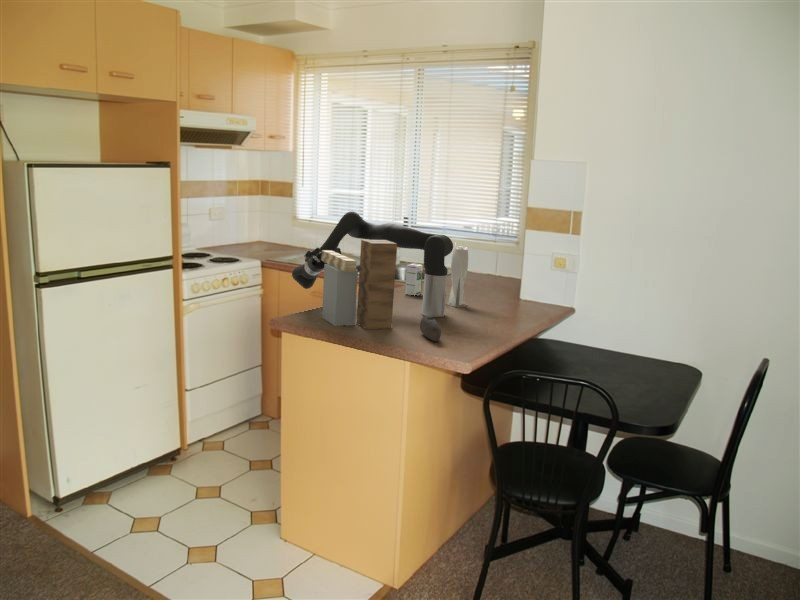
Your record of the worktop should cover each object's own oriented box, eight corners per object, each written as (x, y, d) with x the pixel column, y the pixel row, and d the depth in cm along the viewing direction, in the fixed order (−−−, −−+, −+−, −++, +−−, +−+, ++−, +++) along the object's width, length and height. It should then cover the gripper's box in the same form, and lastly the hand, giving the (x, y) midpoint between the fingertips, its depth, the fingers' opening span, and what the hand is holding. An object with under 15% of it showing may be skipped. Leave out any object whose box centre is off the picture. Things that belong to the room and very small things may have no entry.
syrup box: (415, 296, 315) (417, 265, 312) (404, 294, 318) (406, 264, 315) (421, 294, 319) (423, 264, 316) (410, 292, 322) (412, 263, 319)
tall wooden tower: (356, 322, 257) (361, 239, 250) (380, 321, 261) (385, 239, 255) (367, 329, 248) (372, 243, 241) (391, 328, 252) (397, 243, 246)
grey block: (322, 317, 262) (324, 264, 257) (341, 316, 265) (343, 263, 261) (334, 326, 250) (337, 270, 245) (354, 325, 253) (357, 270, 249)
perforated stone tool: (444, 344, 235) (446, 325, 234) (430, 344, 234) (431, 325, 232) (432, 333, 249) (433, 315, 248) (418, 333, 248) (419, 315, 247)
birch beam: (321, 260, 266) (321, 250, 265) (330, 260, 268) (331, 250, 267) (345, 271, 244) (346, 260, 243) (355, 271, 245) (356, 260, 245)
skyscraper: (442, 304, 302) (447, 242, 296) (453, 302, 308) (459, 241, 302) (457, 307, 296) (463, 244, 290) (468, 305, 302) (474, 243, 296)
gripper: (298, 255, 275) (310, 240, 261) (330, 255, 281) (344, 241, 268) (300, 272, 273) (313, 258, 259) (333, 272, 280) (347, 258, 266)
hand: (329, 249), depth 263 cm, fingers open, 8 cm apart
